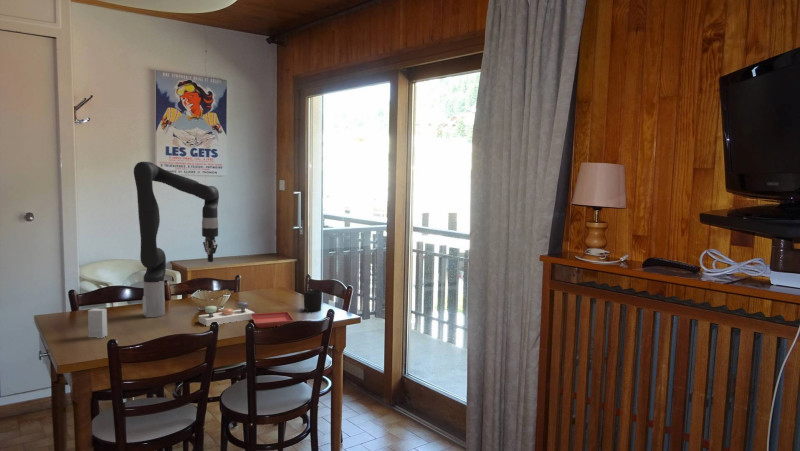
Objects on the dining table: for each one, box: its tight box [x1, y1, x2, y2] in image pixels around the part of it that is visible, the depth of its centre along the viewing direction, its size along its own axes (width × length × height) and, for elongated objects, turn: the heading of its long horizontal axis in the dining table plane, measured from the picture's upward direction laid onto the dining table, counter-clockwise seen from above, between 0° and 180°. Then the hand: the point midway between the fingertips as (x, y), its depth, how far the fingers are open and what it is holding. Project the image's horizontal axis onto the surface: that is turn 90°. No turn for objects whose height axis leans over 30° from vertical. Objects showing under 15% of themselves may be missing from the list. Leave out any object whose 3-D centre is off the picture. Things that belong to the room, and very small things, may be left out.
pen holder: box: [303, 289, 323, 313], centre depth 292 cm, size 9×9×10 cm
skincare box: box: [87, 308, 108, 339], centre depth 237 cm, size 6×4×12 cm
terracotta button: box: [221, 307, 234, 315], centre depth 269 cm, size 5×5×5 cm
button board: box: [198, 308, 256, 327], centre depth 269 cm, size 24×10×3 cm, turn 130°
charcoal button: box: [237, 301, 249, 313], centre depth 274 cm, size 5×5×5 cm
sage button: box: [204, 305, 218, 317], centre depth 263 cm, size 5×5×5 cm
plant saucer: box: [251, 311, 295, 329], centre depth 266 cm, size 18×18×3 cm
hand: (210, 261), depth 274 cm, fingers closed
